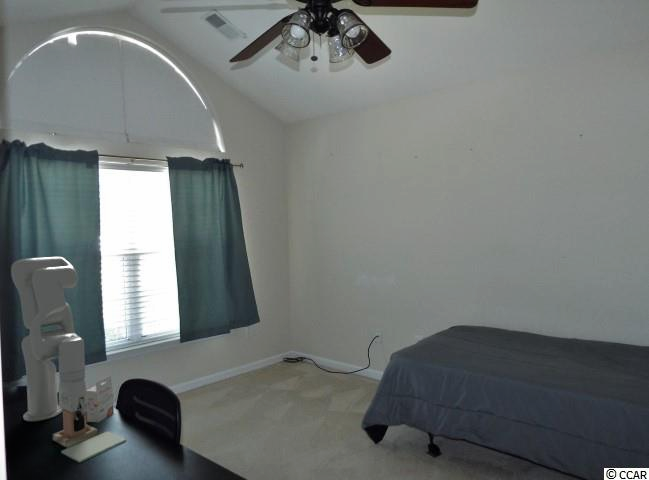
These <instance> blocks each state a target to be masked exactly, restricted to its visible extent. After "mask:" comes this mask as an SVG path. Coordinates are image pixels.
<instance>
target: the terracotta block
mask: <svg viewBox="0 0 649 480" xmlns="http://www.w3.org/2000/svg"><path fill="white" fill-rule="evenodd" d="M78 409H80V407H78ZM78 413H80V411H78V412H77V415H78ZM74 420H75V417H74V412H73V413H72V412H69V411H67V410H64V409H63V411H62V421H63V422H62V423H63V426H62V427H63V430H64V437H66V438H68V439H71V438H73V437H76V436H78V435H81V434H83V433H86V432H87V428H86V424H87V412H86V413H85V417H84V424H85V428H84V429H82V430H79V431H77V432H75V431H74Z"/></svg>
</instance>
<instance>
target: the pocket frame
mask: <svg viewBox="0 0 649 480" xmlns="http://www.w3.org/2000/svg"><path fill="white" fill-rule="evenodd" d="M86 428H87V432H86V433H83V434H81V435H78V436H76V437H73V438H71V439H68V438H66V437H64V429H62V430H60V431H57V432H55V433H53V434H52V441H54V442H56V443H58V444H59V445H61V446H63V447H64V448H66V449H67V448H69V447H72V446H74V445H77V444H79V443H81V442H84V441H86V440H88V439H91V438H93V437H95V436H98V435H99V433H98V429H97V428H95V427H93V426H91V425H88V424H87V423H86Z"/></svg>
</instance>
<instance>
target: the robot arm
mask: <svg viewBox="0 0 649 480" xmlns="http://www.w3.org/2000/svg"><path fill="white" fill-rule="evenodd" d="M10 270H11V271H10V275H11V279H12V282H13V284H14V286H15V288H16V289H17V291H18V294H19V298H20V307H21V315H22V321H23V324H24V327H25V328H26V329H28V330H29V334H28V335H27V336H25V337H23V339H22V341H21V349H22V354H23V358H24V362H25V363H24V364H25V377H26V392H27V393H26V395H27V411H26V412H25V413H24V414H23V416H22V417H23V420H24V421H26V422H39V421H44V420H48V419H52V418H54V417H56V416H58V415H60V414H61V413H63V409H64V410H67V411H69V412H72V413H73V412H74V417H75V420H74V431H75V432H77V431H79V430H82V429H84V428H85V424H84V417H85V413H86V414H87V393H86V390H87V388H86V381H85V380H86V379H85V378H86V361H85V360H86V359H85V341H84V339H83V337H81V336H79V335H78V334H77V333H75V328H74V327H75V325H74V318H73V312H72V309H71V306H70V305H69V303H68V302H67V300H66V298H65V297H66V296H65V293H64V289H72V288H74V287H76V286H77V285H78V281H79V280H78V279H79V276H78V273H77V270H76V269H75V267H74V266H73V265H72V264H71V263H70V262H69V261H68V259H67V260H66V258H64V257H62V256H46V257H30V258H23V259H22V258H21V259H19V260H16V261H14V262H13V263H12V265H11V269H10ZM52 327H57V328H56V329H55V328H54V329H50V330H45V331H41V329H44V328H52ZM53 359H58V372H59V374H58V375H59V385H57V382H58V381H57V366H56V364H55V362H53V361H52V360H53ZM78 407H80V409H78ZM78 411H80V413H78V415H77V412H78Z"/></svg>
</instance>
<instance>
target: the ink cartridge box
mask: <svg viewBox="0 0 649 480" xmlns="http://www.w3.org/2000/svg"><path fill="white" fill-rule="evenodd" d="M113 390H114V389H113V381H112V376H111V375H108V376H106V377H104V378H102V379H100V380H99V381H97V382H95V385H94V386H92V387H91V388H88V389H86V393H87V407H86V408H87V412H86V423H100V422H101V421H104V420H105V419H106V418H108V417H109V416H111V415H112V414H114V410H115V409H114V393H113Z"/></svg>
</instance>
